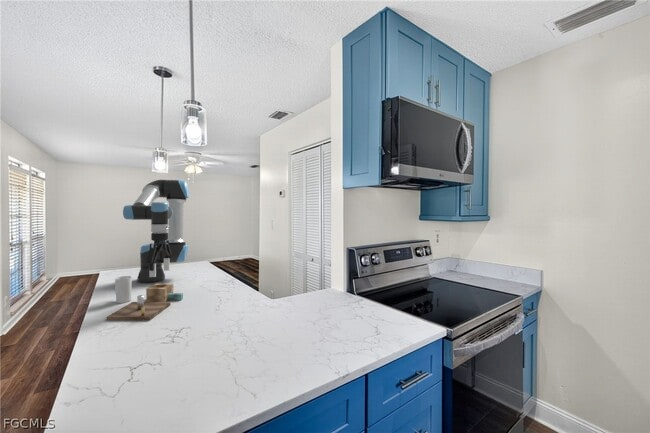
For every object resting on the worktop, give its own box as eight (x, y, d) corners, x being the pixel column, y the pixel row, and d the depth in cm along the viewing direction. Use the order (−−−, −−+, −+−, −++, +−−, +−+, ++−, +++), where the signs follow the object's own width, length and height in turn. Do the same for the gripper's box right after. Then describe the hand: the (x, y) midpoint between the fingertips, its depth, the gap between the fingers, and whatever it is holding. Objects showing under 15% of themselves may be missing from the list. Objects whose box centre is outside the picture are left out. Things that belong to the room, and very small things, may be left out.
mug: (134, 300, 146) (134, 276, 145) (121, 304, 140) (120, 280, 139) (122, 297, 150) (122, 274, 149) (108, 300, 144) (108, 277, 143)
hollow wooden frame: (146, 302, 143) (146, 288, 143) (156, 296, 152) (156, 283, 152) (178, 302, 144) (177, 288, 143) (185, 296, 153) (185, 283, 152)
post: (139, 307, 132) (139, 295, 131) (145, 307, 132) (145, 295, 132) (136, 309, 129) (136, 296, 129) (141, 309, 129) (141, 296, 129)
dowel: (142, 314, 124) (142, 307, 124) (145, 314, 124) (145, 307, 124) (140, 316, 123) (140, 308, 123) (143, 316, 123) (143, 308, 123)
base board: (132, 304, 139) (132, 301, 139) (170, 305, 140) (170, 302, 140) (106, 320, 121) (106, 316, 121) (149, 320, 122) (149, 316, 122)
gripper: (153, 235, 134) (154, 280, 134) (178, 230, 158) (178, 268, 159) (137, 235, 133) (137, 279, 134) (164, 230, 158) (164, 267, 159)
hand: (160, 273), depth 147 cm, fingers open, 13 cm apart
